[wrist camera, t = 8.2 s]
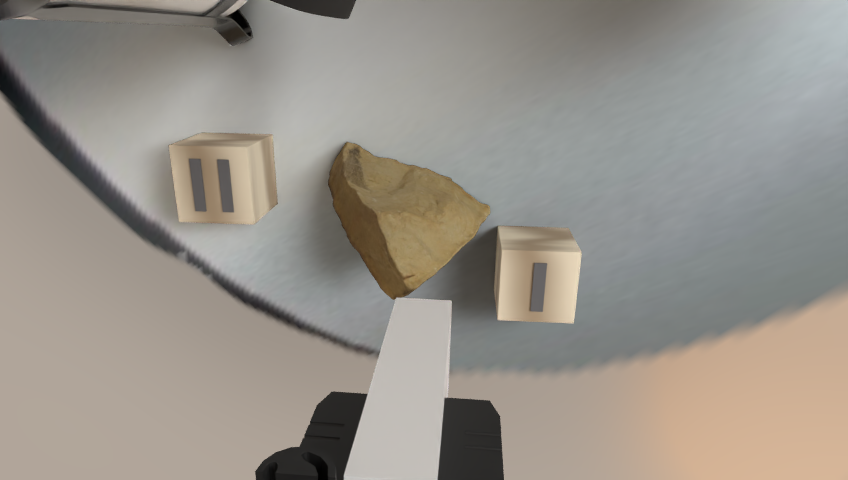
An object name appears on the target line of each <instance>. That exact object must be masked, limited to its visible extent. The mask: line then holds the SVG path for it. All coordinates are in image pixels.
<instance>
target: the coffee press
mask: <svg viewBox="0 0 848 480" xmlns="http://www.w3.org/2000/svg"><path fill="white" fill-rule="evenodd" d="M247 1H248V0H0V21H1V20H7V19H34V20H53V21H79V22H105V23H130V24H155V25H179V26H200V27H210V28H213V29H215V30H216V31H218V32H219V33H220V34H221V35H222V36H223V37H224V38H225V39H226V40H227V41H228V43H229V44H231V45H232V46H234V45H237V44H239V43H242V42H244V41H247V40H249V39H252V37H253V35H252V30H251V28H250V25H249V23H248V22H247V20H246V18H245V17H244V16H243V14H242V13H241V12H240V10H239V8H240V7H241V6H243V5H244V4H245V3H246V2H247ZM271 1H273V2H276V3H279V4H281V5H284V6H287V7H290V8H293V9H296V10H299V11H303V12H307V13H311V14H316V15H321V16H327V17H334V18H341V19H348V18H349V16H350V14H351V11H352V9H353V6H354V4H355V1H356V0H271Z"/></svg>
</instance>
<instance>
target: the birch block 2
mask: <svg viewBox="0 0 848 480" xmlns="http://www.w3.org/2000/svg"><path fill="white" fill-rule="evenodd" d="M581 254H582V252H581V250H580V249H579V247H578V245H577V243H576V241H575V239H574V237H573V236H572V234H571V232H570V230H569V228H555V227H524V226H498V230H497V247H496V264H495V281H494V294H495V302H496V311H497V319H498V320H507V321H531V322H555V323H574V316H575V307H576V298H577V290H578V281H579V272H580V263H581Z"/></svg>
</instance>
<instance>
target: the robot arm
mask: <svg viewBox="0 0 848 480" xmlns="http://www.w3.org/2000/svg"><path fill="white" fill-rule="evenodd" d="M451 310H452V301H451V300H433V299H414V298H396V300H395V303H394V307H393V310H392V314H391V317H390V320H389V324H388V327H387V331H386V334H385V337H384V341H383V344H382V348H381V351H380V354H379V358H378V361H377V364H376V368H375V371H374V375H373V378H372V382H371V385H370V388H369V392H368V394H361V393H345V392H331V393H330V394H329V395H328V396H327V397H326V398H324V399H323V400H322V401H321V402H320V403H319V404H318V405H317V407H316V409H315V411H314V414H313V416H312V419H311V421H310V425H309V426H308V428H307V431H306V433H305V437H304V438H303V440H302V442H301V445H300V447H291V448H288V449H285V450H282V451H279V452H276V453H274V454H273V455H272V456H270V457H268V458H267V459H265V460H264V461H263V462H262V464H261V465H260V466H259V467H258V469H257V470H256V471H255V472H256V480H504V474H503V459H502V443H501V442H502V441H501V425H500V416H499V414H498V413H497V411H496V410H495V408H494V407H493V405H492V404H491V402H490V401H486V400H472V399H457V398H448V385H449V360H450V335H451Z"/></svg>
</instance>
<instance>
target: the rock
mask: <svg viewBox="0 0 848 480" xmlns="http://www.w3.org/2000/svg"><path fill="white" fill-rule="evenodd" d="M329 175H330V177H329V180H328V186H329V188H330V190H331V194H332V198H333V207H334V209H335V212H336V213H337V215H338V217H339V218H340V220H341V222H342V226H343V228H344V229H345V231H346V234H347V237H348V239H349V241H350V243H351V244H352V246H353V247H354V248H355V249H356V250H357V251H358V252H359V253H360V255H361V257H362V259H363V261H364V262H365V264H366V266H367V267H368V269H369V271H370V272H371V274H372V275H373V277H374V278H375V280H376V281H377V282H378V284H379V286H380V288H381V289H382V290H383V291H384V292H385V293H386V294H387V295H388V296H389V297H390V298H391V299H393V300H394V299H396V298H401V297H404V296H407V295H409V294H410V293H411V292H413V291H414V290H415V289H417V288H418V287H419V286H420V285H421V284H423V283H424V282H425V281H426V280H428V279H429V278H431V277H432V276H433V275H435V274H436V273H437V271H438V270H439V269H441V268H442V267H443V266H445V265H446V264H447V263H448V262H449V261H450V260H451V258H452V257H453V256H454V255H455V254H456V253H457V252H459V250H460V249H461V248H462V247H463V246H465V245H466V243H467V242H469V241H470V240H471V239H473V237H474V236H475V235H476V233H477V231H478V229H479V227H480V225H481V224H482V223H483V222H484V221H485V220H486V217H487V216H488V215H489V214H490V207H489V206H488V205H487V204H482V203H480V202H478V201H477V200H476V199H475V198H473V197H472V196H471V195H470V194H468V193H466V192H465V191H464V190H463V189H462V188H461V187H460V186H459V185H457V184H456V183H454V182H452V179H451V178H449V177H445V176H443V175H439V174H437V173H435V172H433V171H431V170H429V169H426V168H420V167H418V166H414V165H409V166H408V165H406V164H403V163H399V162H398V161H397V160H393V159H389V158H380V157H375V156H373V155H372V154H371V153H369V152H368V151H366V150H364V149H363V148H362V147H360V146H359V145H357V144H352V143H349V142H347V143H345V145H344V146H343V148H342V150H341V151H340V153H339V155H338V156H337V158H336V159H335V161H334V163H333V166H332V168H331V170H330V174H329Z"/></svg>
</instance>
